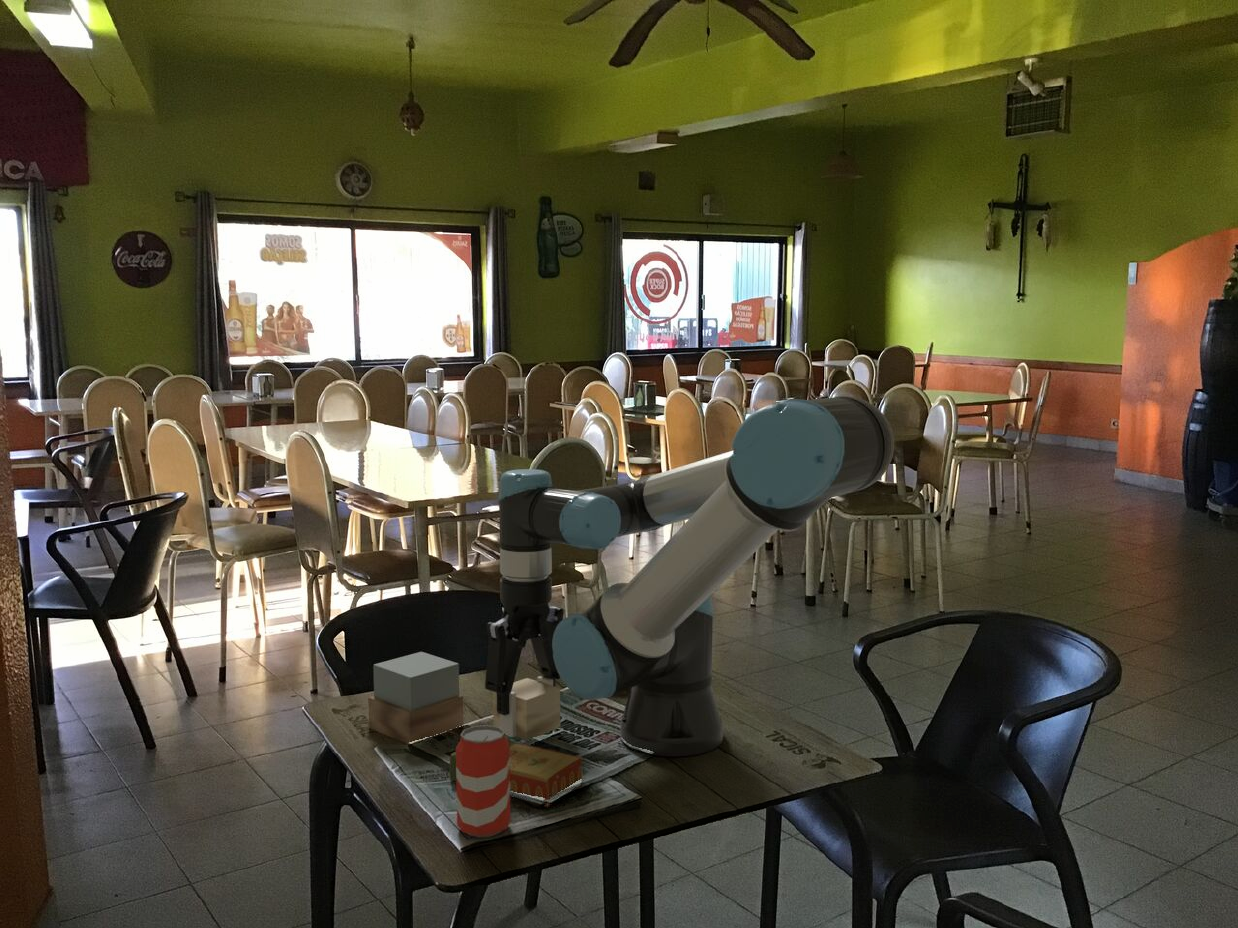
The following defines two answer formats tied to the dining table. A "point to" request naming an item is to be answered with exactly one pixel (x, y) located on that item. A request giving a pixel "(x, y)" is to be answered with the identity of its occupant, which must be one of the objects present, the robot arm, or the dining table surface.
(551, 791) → the carton
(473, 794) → the beverage can
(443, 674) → the tower top
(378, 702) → the tower base
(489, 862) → the dining table surface
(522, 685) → the maple cube
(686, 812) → the dining table surface
